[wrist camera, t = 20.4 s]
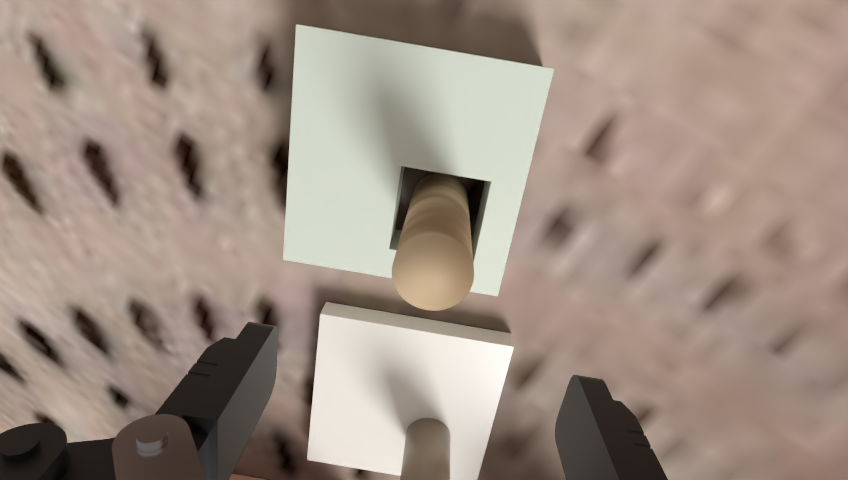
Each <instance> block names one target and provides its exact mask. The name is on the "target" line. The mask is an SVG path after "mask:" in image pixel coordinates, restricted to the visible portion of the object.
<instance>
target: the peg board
mask: <svg viewBox="0 0 848 480" xmlns="http://www.w3.org/2000/svg"><path fill="white" fill-rule="evenodd" d="M553 71H554V69H552V68H548V67H544V66H538V65H533V64H527V63H521V62H515V61H509V60H504V59H498V58H492V57H486V56H481V55H475V54H469V53H463V52H458V51H452V50H446V49H440V48H434V47H429V46H423V45H417V44H411V43H406V42H400V41H394V40H388V39H383V38H377V37H371V36H365V35H359V34H354V33H348V32H342V31H336V30H331V29H325V28H319V27H313V26H305V25H298V24H296V34H295V52H294V70H293V89H292V107H291V125H290V143H289V161H288V179H287V198H286V216H285V234H284V252H283V260H289V261H295V262H300V263H306V264H312V265H318V266H324V267H330V268H336V269H341V270H347V271H353V272H359V273H365V274H371V275H376V276H382V277H388V278H392V265H393V261H394V258H395V254H396V251H397V247H398V244H399V240H400V237H401V233H402V230H396V223H397V216H398V209H399V203H400V196H401V189H402V182H403V176H404V169H405V167H409V168H415V169H421V170H427V171H432V172H438V173H444V174H450V175H456V176H461V177H467V178H473V179H479V180H485V183H484V187H483V192H482V197H481V201H480V206H479V211H478V215H477V220H476V225H475V229H474V234H473V239H472V253H473V265H474V280H473V284H472V287H471V289H470V292H476V293H482V294H488V295H493V296H498V293H499V289H500V285H501V281H502V277H503V273H504V269H505V265H506V261H507V257H508V253H509V249H510V245H511V240H512V236H513V232H514V228H515V224H516V220H517V216H518V212H519V208H520V204H521V200H522V196H523V192H524V188H525V184H526V180H527V176H528V172H529V168H530V164H531V160H532V156H533V152H534V148H535V144H536V139H537V135H538V131H539V127H540V123H541V119H542V115H543V111H544V107H545V103H546V99H547V95H548V91H549V87H550V83H551V79H552V75H553Z"/></svg>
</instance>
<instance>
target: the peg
mask: <svg viewBox="0 0 848 480" xmlns="http://www.w3.org/2000/svg"><path fill="white" fill-rule="evenodd" d="M392 280H393V284H394V286H395V288H396V290H397V292H398V293H399V295H400V296H401V297H402V298H403V299H404V300H405V301H407V302H408V303H409V304H411V305H413V306H415V307H417V308H420V309H424V310H431V311H437V310H444V309H447V308H450V307H452V306H454V305H456V304H458V303H459V302H461V301H462V300H463V299H464V298H465V297H466V296H467V294H468V293H469V291H470V289H471V287H472V284H473V280H474V265H473V253H472V241H471V229H470V217H469V205H468V195H467V191H466V188H465V186H464V184H463V183H462V182H461V181H460V180H459V179H458V178H457V177H456V176H454V175H450V174H444V173H438V172H434V173H431V174H428V175H426V176H425V177H423V178H422V179H421V180H420V181H419V182H418V183H417V185H416V186H415V188H414V191H413V195H412V198H411V202H410V205H409V209H408V212H407V216H406V219H405V223H404V226H403V230H402V233H401V237H400V240H399V244H398V247H397V251H396V254H395V258H394V261H393V265H392Z"/></svg>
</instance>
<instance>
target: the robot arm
mask: <svg viewBox="0 0 848 480" xmlns="http://www.w3.org/2000/svg"><path fill="white" fill-rule="evenodd" d="M277 349H278V327H277V326H272V325H265V324H259V323H253V322H248V323H247V324H246V326H245V327H244V328H243V330H242V331H241V333H240V334H239V335H238V337H237V338H236V339H231V338H225V337H224V338H223V339H221V340H219V341H218V342H216V343H214V344H213V345H211V346H209V347H208V348H207V349H206V350H205V351H204V353H203V354H202V355H201V356H200V358H199V359H198V360H197V363H195V364H194V365H193V367H192V368H191V369H190V370H189V372H188V375H186V376H185V377H184V378H183V379H182V381H181V382H180V383H179V384H178V386H177V387H176V388H175V390H174V391H173V392H172V393H171V395H170V396H169V397H168V398H167V400H166V401H165V402H164V404H163V405H162V406H161V407H160V409H159V410H158V411H157V412H156V414H155V415H151V416H146V417H143V418H140V419H138V420H136V421H134V422H132V423H130V424H128V425H127V426H126V427H124V428H123V429H122V430H121V431H120V432H119V433H118V434H117V436H116V437H115V438H111V439H104V440H94V441H83V442H73V443H67V437H66V434H65V432H64V431H63V429H61V428H60V427H58V426H56V425H53V424H48V423H34V424H27V425H23V426H19V427H16V428H13V429H10V430H7V431H5V432H3V433H1V434H0V480H229V479H230V477H231V475H232V473H233V471H234V469H235V467H236V465H237V463H238V461H239V459H240V457H241V455H242V453H243V450H244V448H245V446H246V444H247V442H248V440H249V438H250V436H251V434H252V432H253V430H254V428H255V426H256V424H257V422H258V420H259V418H260V416H261V414H262V412H263V410H264V408H265V406H266V404H267V402H268V400H269V398H270V396H271V393H272V390H273V387H274V383H275V378H276V366H277ZM555 439H556V445H557V448H558V452H559V455H560V459H561V463H562V466H563V470H564V473H565V477H566V480H668V479H667V477H666V475H665V473H664V471H663V469H662V467H661V465H660V463H659V461H658V459H657V457H656V455H655V453H654V451H653V450H652V449H650V444H649V442H648V440H647V438H646V436H644V432H643V430H642V428H641V426H640V424H639V422H638V420H637V418H636V416H635V415H634V414H633V413H632V412H631V411H630V410H629V409H628V408H627V407H626V406H625V405H624V404H623V403H622V402H621V401H615V400H613V399H612V396H611V394H610V392H609V390H608V388H607V386H606V384H605V382H604V381H603V380H602V379H597V378H591V377H585V376H578V375H573V376H572V377H571V379H570V382H569V384H568V387H567V390H566V393H565V396H564V399H563V402H562V405H561V408H560V411H559V414H558V417H557V421H556V427H555Z"/></svg>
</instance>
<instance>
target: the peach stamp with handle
mask: <svg viewBox="0 0 848 480" xmlns="http://www.w3.org/2000/svg"><path fill="white" fill-rule="evenodd" d="M229 480H266V479H260V478H255V477H249V476H243V475H237V474H232V475H231V477H230V479H229Z"/></svg>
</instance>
